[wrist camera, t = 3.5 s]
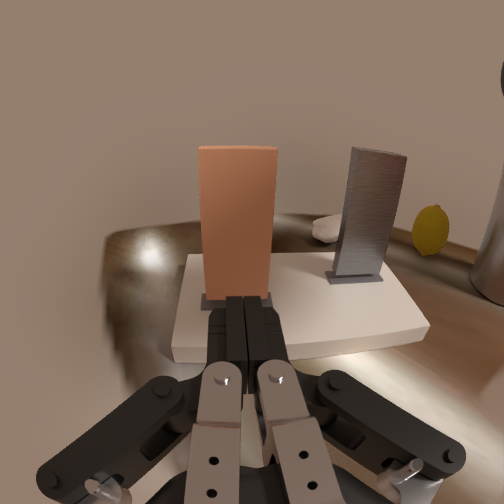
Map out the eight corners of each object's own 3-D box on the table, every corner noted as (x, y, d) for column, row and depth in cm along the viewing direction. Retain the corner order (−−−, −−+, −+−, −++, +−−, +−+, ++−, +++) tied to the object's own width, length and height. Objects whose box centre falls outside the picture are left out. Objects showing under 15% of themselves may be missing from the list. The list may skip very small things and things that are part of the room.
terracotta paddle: (265, 289, 24) (274, 146, 18) (267, 298, 23) (277, 149, 17) (207, 290, 24) (200, 146, 18) (206, 299, 23) (198, 149, 17)
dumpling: (352, 253, 36) (358, 226, 34) (314, 252, 36) (319, 224, 34) (338, 229, 42) (342, 205, 40) (305, 228, 42) (308, 203, 40)
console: (371, 265, 33) (376, 250, 32) (422, 340, 22) (431, 323, 21) (189, 269, 31) (188, 252, 30) (175, 362, 20) (170, 344, 19)
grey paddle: (374, 266, 28) (400, 153, 22) (379, 273, 27) (407, 157, 21) (331, 268, 28) (352, 146, 21) (335, 275, 26) (357, 149, 20)
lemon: (444, 261, 35) (461, 212, 31) (425, 269, 33) (443, 214, 29) (419, 244, 39) (432, 196, 35) (398, 249, 37) (412, 198, 33)
